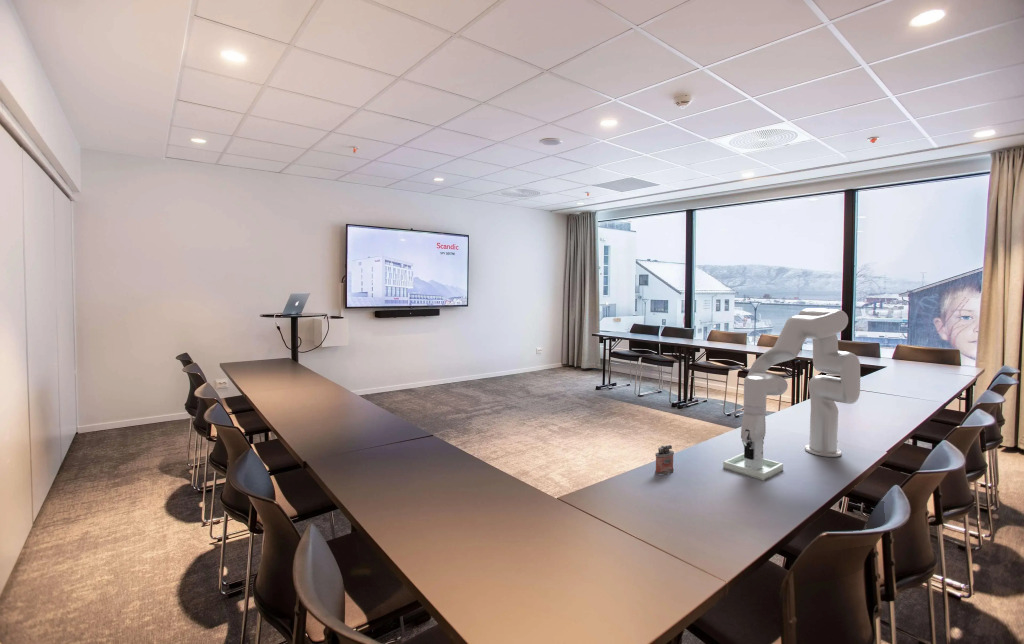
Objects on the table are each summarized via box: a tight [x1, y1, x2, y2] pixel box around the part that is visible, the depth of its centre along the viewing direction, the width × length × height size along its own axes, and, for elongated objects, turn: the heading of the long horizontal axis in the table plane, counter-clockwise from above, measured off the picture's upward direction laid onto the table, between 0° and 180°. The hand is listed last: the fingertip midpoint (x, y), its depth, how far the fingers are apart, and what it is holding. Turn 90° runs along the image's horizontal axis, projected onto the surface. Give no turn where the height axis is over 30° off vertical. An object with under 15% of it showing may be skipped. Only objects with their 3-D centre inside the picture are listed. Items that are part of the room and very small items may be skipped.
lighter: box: [654, 444, 675, 475], centre depth 177 cm, size 8×3×10 cm, turn 117°
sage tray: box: [722, 452, 784, 481], centre depth 179 cm, size 15×15×2 cm
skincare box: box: [744, 437, 764, 470], centre depth 179 cm, size 6×4×12 cm
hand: (753, 456), depth 179 cm, fingers open, 6 cm apart
